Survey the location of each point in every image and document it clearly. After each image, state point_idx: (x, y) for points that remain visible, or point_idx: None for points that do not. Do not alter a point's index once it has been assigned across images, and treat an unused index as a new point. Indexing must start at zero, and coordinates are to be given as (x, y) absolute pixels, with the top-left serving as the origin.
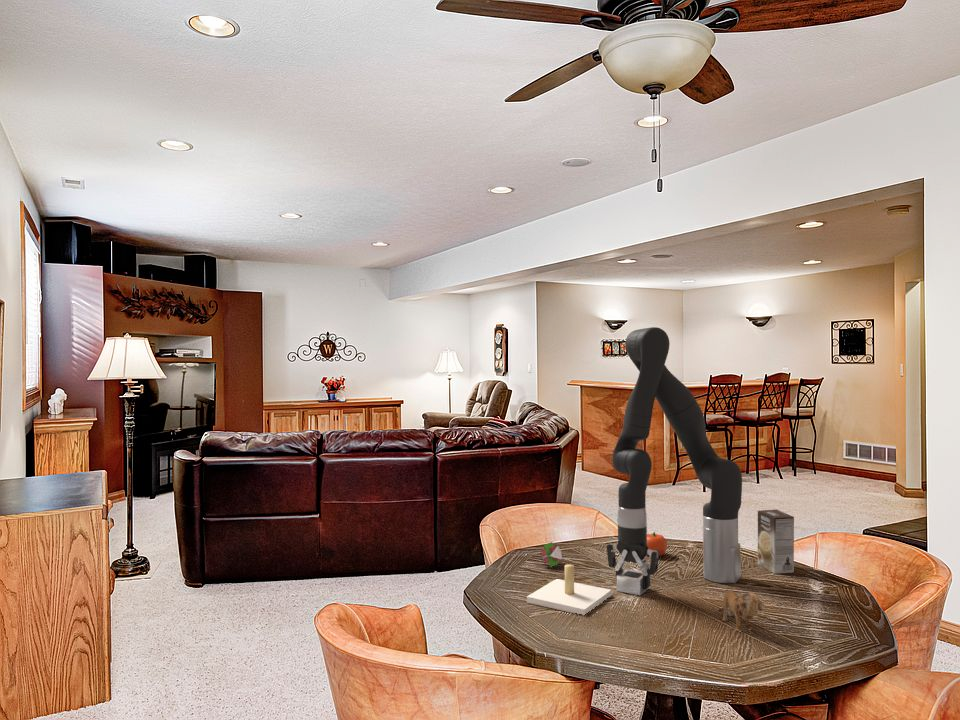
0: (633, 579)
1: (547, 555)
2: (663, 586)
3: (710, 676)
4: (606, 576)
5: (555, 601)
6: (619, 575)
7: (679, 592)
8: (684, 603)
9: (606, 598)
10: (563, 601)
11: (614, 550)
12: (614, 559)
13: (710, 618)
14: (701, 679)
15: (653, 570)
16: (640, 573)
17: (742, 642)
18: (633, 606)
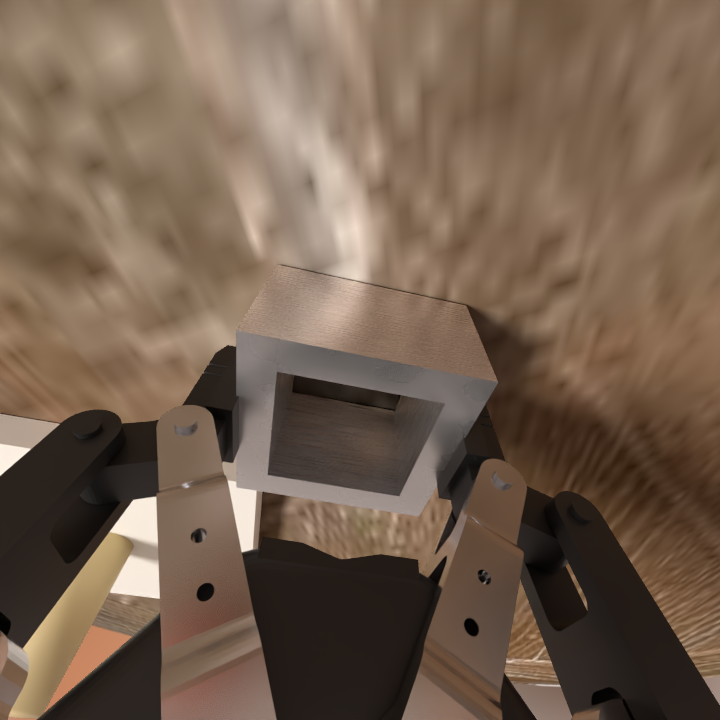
0: (370, 505)
1: None
2: (606, 206)
3: (558, 680)
4: (4, 80)
5: (128, 590)
6: (253, 480)
7: (702, 310)
8: (650, 457)
9: (261, 496)
10: (151, 586)
11: (7, 696)
12: (75, 489)
13: (701, 546)
14: (539, 684)
15: (551, 578)
16: (411, 394)
17: (712, 622)
18: (392, 521)
